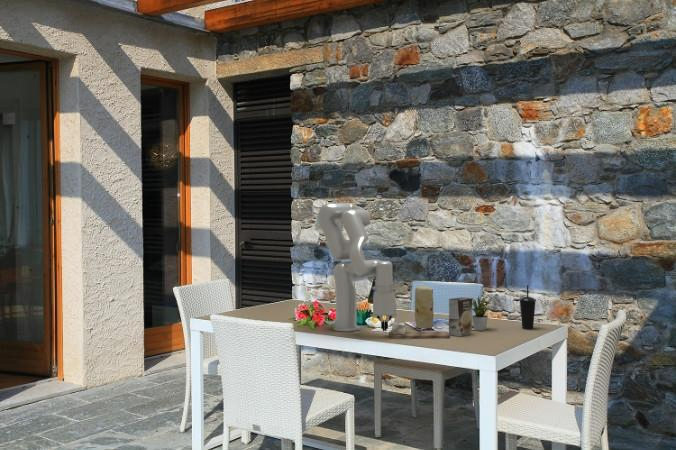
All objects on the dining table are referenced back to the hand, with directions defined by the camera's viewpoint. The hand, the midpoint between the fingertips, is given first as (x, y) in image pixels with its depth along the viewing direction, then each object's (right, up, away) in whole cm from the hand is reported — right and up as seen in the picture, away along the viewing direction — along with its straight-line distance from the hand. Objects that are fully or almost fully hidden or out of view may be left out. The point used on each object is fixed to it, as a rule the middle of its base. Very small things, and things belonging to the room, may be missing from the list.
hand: (384, 330), depth 324 cm
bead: (+6, -1, 0) cm, 6 cm away
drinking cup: (+67, -2, +16) cm, 69 cm away
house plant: (+45, -2, +13) cm, 47 cm away
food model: (+19, -2, +18) cm, 26 cm away
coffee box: (+34, -2, +4) cm, 35 cm away
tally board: (+15, -3, 0) cm, 15 cm away
